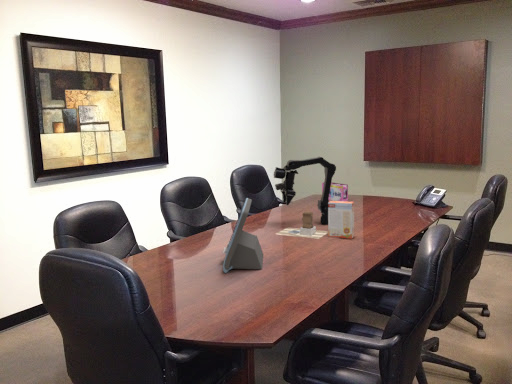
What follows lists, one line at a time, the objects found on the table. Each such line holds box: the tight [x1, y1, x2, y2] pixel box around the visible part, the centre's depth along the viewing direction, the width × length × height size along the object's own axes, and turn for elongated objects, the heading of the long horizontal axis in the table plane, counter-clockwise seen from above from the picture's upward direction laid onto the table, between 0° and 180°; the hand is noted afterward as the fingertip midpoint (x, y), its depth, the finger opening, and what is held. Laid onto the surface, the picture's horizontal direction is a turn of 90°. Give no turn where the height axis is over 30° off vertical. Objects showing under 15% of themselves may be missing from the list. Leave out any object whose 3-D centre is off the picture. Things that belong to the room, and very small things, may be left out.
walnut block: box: [302, 211, 314, 229], centre depth 285 cm, size 4×4×13 cm
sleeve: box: [299, 225, 317, 236], centre depth 286 cm, size 7×7×4 cm
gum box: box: [321, 181, 349, 202], centre depth 394 cm, size 24×8×14 cm, turn 36°
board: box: [275, 227, 328, 240], centre depth 289 cm, size 18×28×1 cm, turn 62°
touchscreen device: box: [222, 197, 264, 274], centre depth 236 cm, size 35×20×30 cm, turn 178°
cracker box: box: [327, 200, 355, 240], centre depth 278 cm, size 14×6×21 cm, turn 65°
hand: (285, 203), depth 307 cm, fingers open, 9 cm apart
